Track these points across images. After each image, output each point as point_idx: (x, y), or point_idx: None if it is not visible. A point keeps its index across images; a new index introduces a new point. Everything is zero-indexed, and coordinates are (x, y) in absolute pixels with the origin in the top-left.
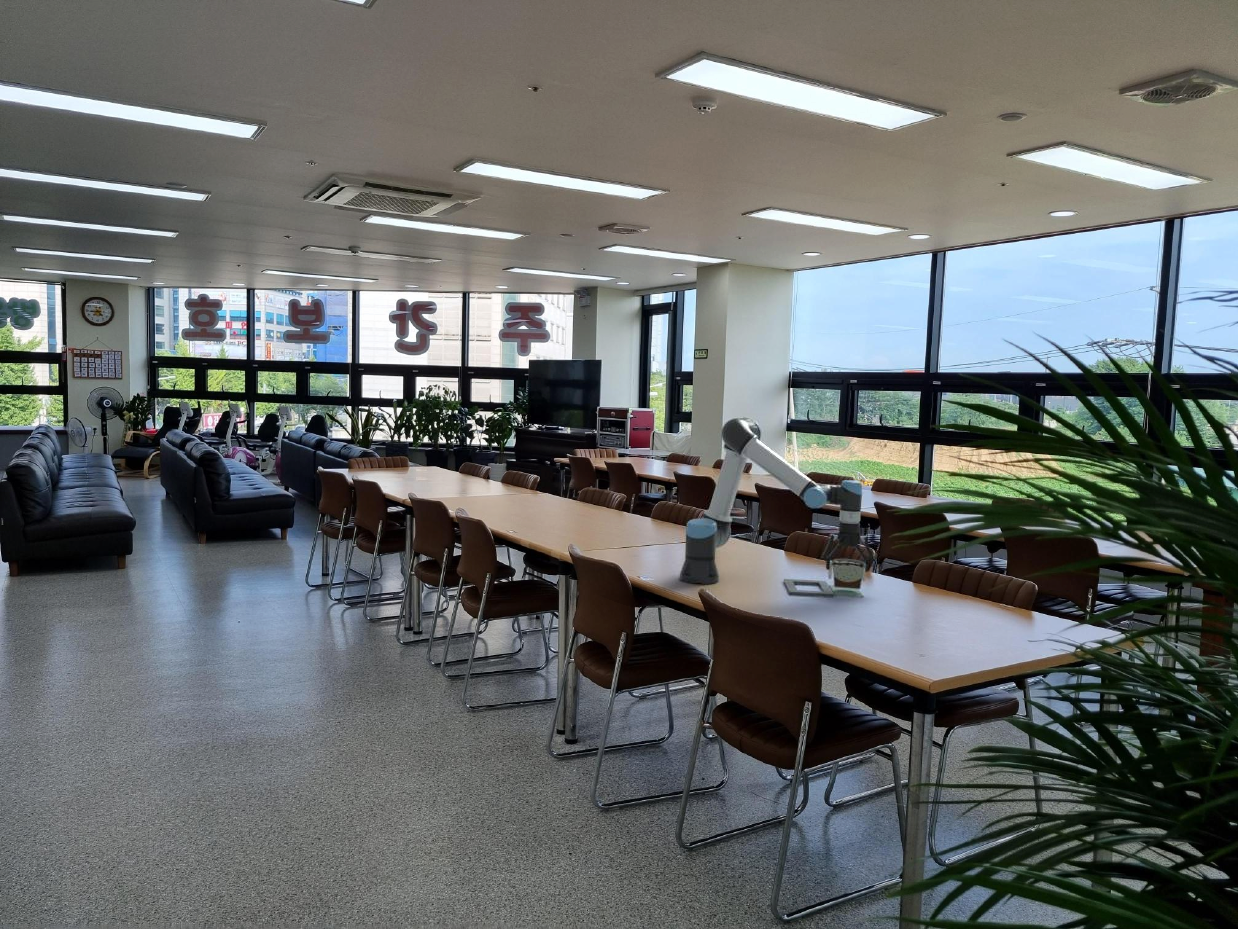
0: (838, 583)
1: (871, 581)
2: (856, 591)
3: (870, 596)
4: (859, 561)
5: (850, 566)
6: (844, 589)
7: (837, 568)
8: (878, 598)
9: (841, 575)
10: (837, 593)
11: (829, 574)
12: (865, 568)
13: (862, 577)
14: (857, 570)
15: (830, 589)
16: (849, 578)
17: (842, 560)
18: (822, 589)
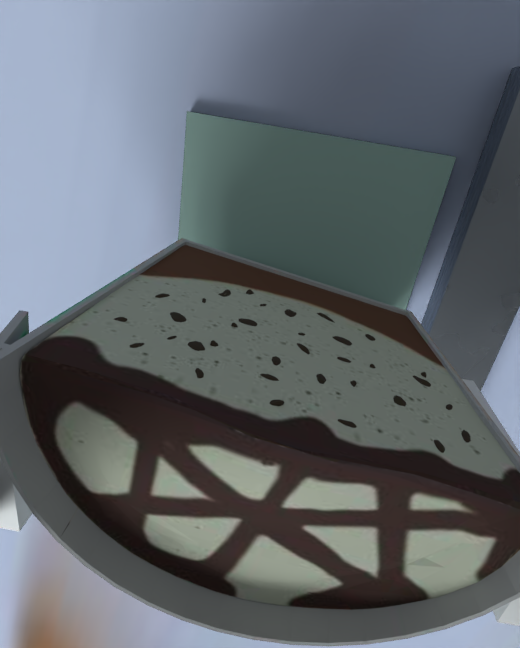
0: (382, 317)
1: (31, 561)
2: None
3: (114, 152)
4: (59, 519)
5: (258, 396)
6: None
7: (443, 425)
8: (52, 69)
9: (369, 354)
10: (415, 203)
11: (492, 412)
12: None
13: None
14: (160, 333)
15: (455, 283)
16: (275, 312)
17: (307, 614)
18: (506, 320)
